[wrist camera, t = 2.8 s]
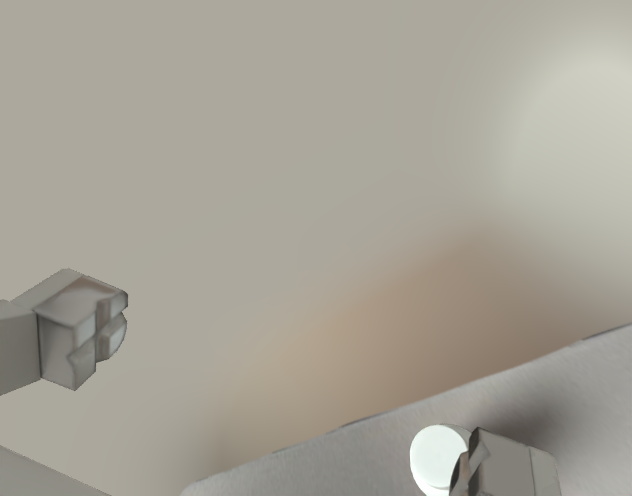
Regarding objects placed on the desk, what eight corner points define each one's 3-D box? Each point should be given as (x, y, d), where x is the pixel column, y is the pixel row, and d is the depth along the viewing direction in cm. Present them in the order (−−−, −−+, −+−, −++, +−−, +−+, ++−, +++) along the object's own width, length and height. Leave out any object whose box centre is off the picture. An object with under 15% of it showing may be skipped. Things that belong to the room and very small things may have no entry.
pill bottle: (419, 467, 42) (384, 443, 35) (470, 429, 42) (446, 398, 35) (459, 529, 39) (430, 517, 32) (514, 488, 39) (498, 467, 31)
